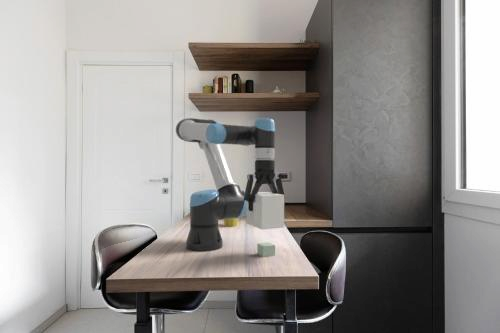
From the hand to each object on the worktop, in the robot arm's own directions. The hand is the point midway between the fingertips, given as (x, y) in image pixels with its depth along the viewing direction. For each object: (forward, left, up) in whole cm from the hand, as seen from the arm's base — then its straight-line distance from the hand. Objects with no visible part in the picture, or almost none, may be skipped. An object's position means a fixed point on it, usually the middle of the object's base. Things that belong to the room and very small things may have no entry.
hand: (264, 218), depth 124 cm
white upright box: (0, 0, -3) cm, 3 cm away
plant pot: (+11, +61, -14) cm, 63 cm away
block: (0, -1, -14) cm, 14 cm away
